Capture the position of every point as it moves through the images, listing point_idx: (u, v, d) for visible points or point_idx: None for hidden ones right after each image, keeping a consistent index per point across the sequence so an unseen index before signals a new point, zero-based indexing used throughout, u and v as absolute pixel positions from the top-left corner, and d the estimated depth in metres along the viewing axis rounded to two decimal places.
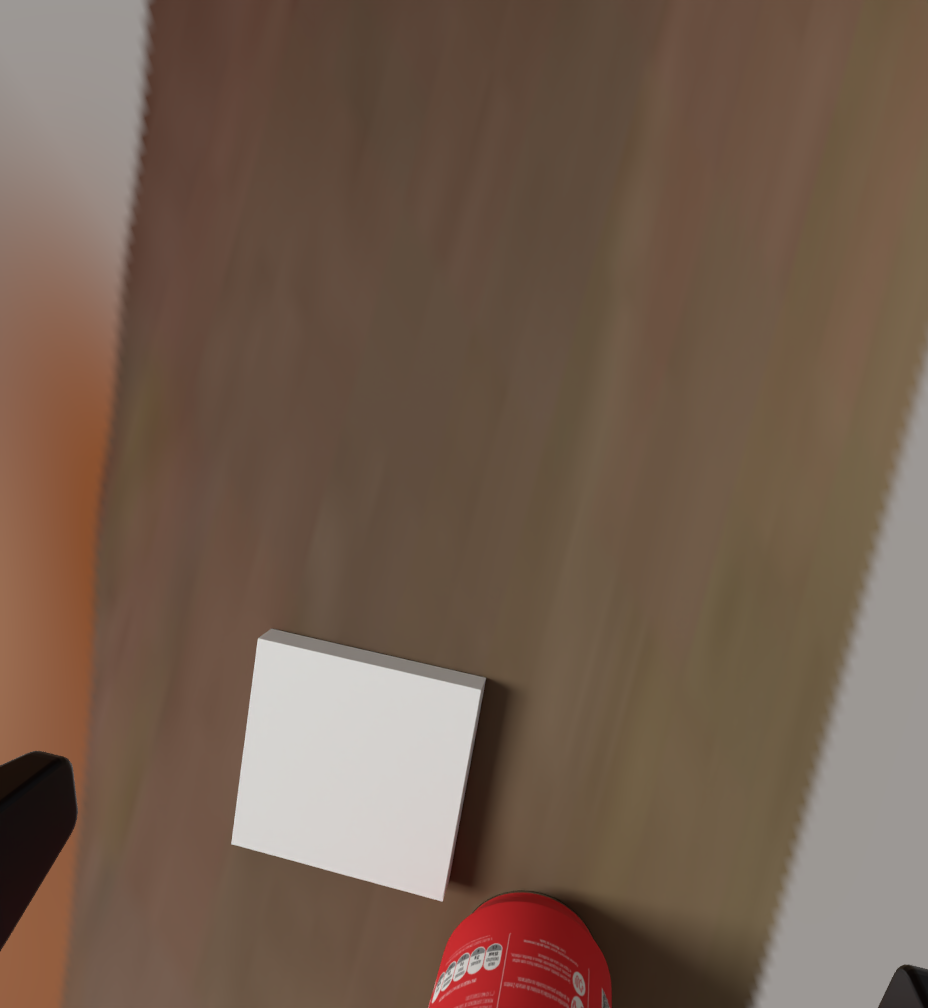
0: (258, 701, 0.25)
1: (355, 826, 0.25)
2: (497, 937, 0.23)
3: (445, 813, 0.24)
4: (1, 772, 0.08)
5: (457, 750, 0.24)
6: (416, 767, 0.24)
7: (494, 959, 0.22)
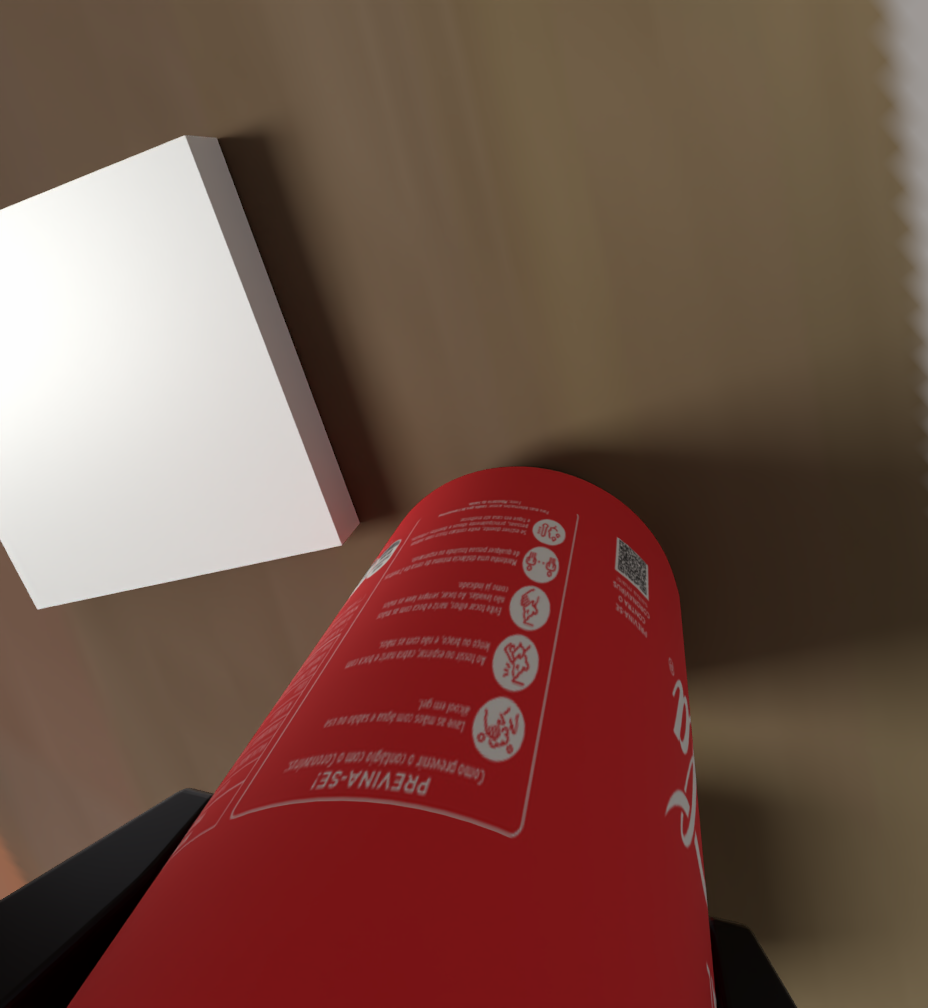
0: None
1: (161, 493, 0.15)
2: (400, 535, 0.12)
3: (263, 397, 0.13)
4: (160, 812, 0.08)
5: (215, 274, 0.13)
6: (179, 344, 0.13)
7: (384, 560, 0.11)
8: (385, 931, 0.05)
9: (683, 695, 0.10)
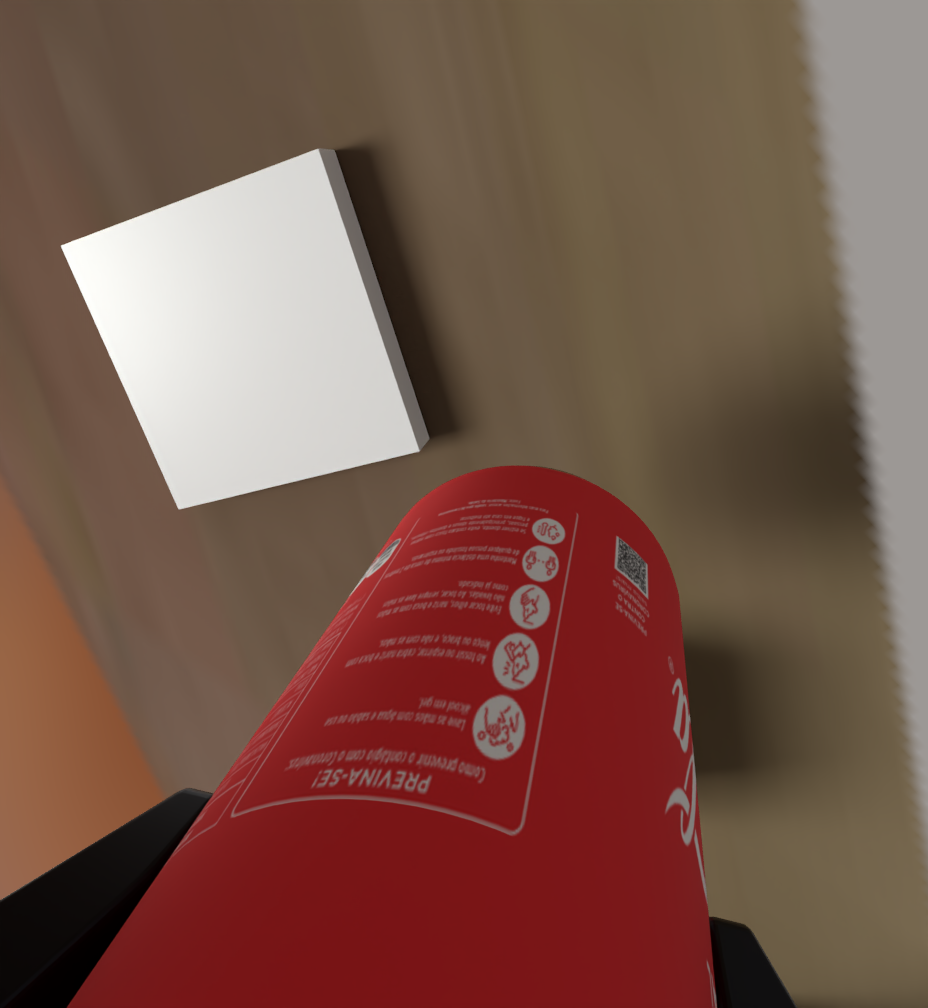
0: (106, 324, 0.20)
1: (283, 414, 0.20)
2: (399, 534, 0.12)
3: (365, 339, 0.18)
4: (160, 812, 0.08)
5: (334, 248, 0.18)
6: (304, 300, 0.18)
7: (384, 558, 0.11)
8: (387, 931, 0.05)
9: (683, 693, 0.10)
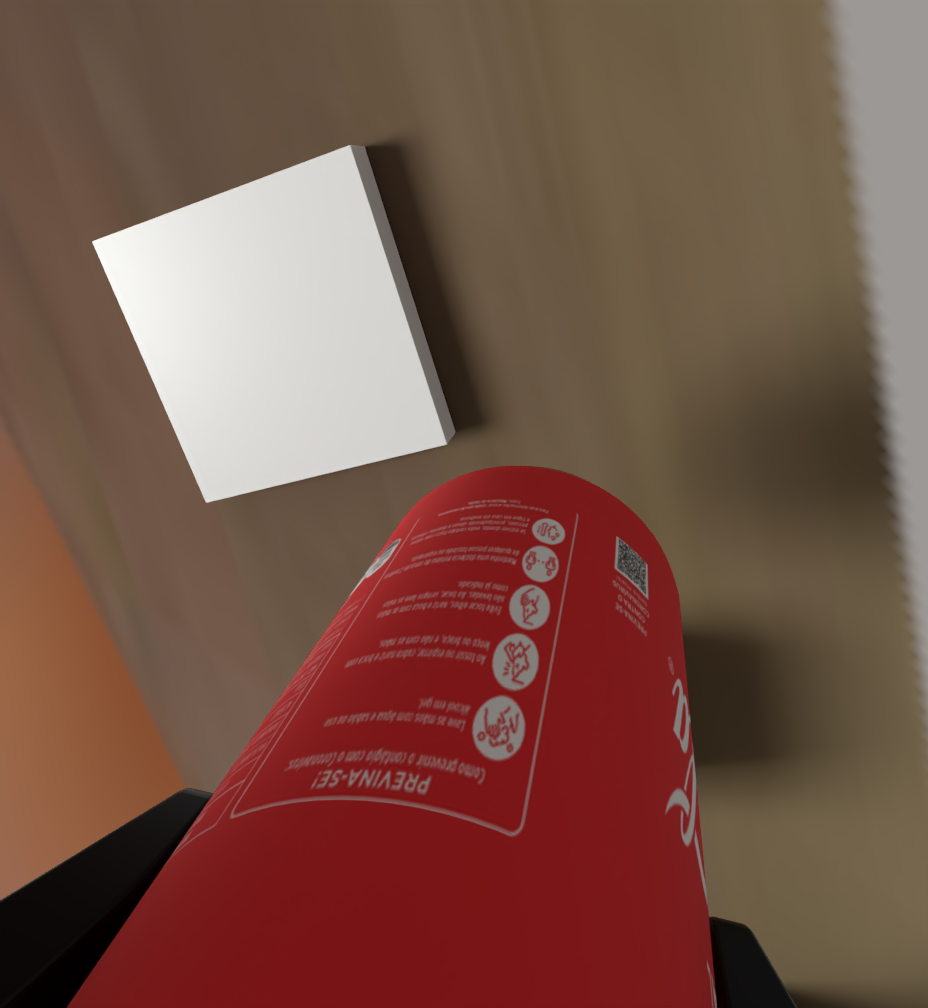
0: (136, 319, 0.20)
1: (311, 408, 0.20)
2: (399, 534, 0.12)
3: (394, 333, 0.19)
4: (160, 812, 0.08)
5: (365, 243, 0.18)
6: (334, 295, 0.19)
7: (383, 559, 0.11)
8: (385, 931, 0.05)
9: (683, 694, 0.10)
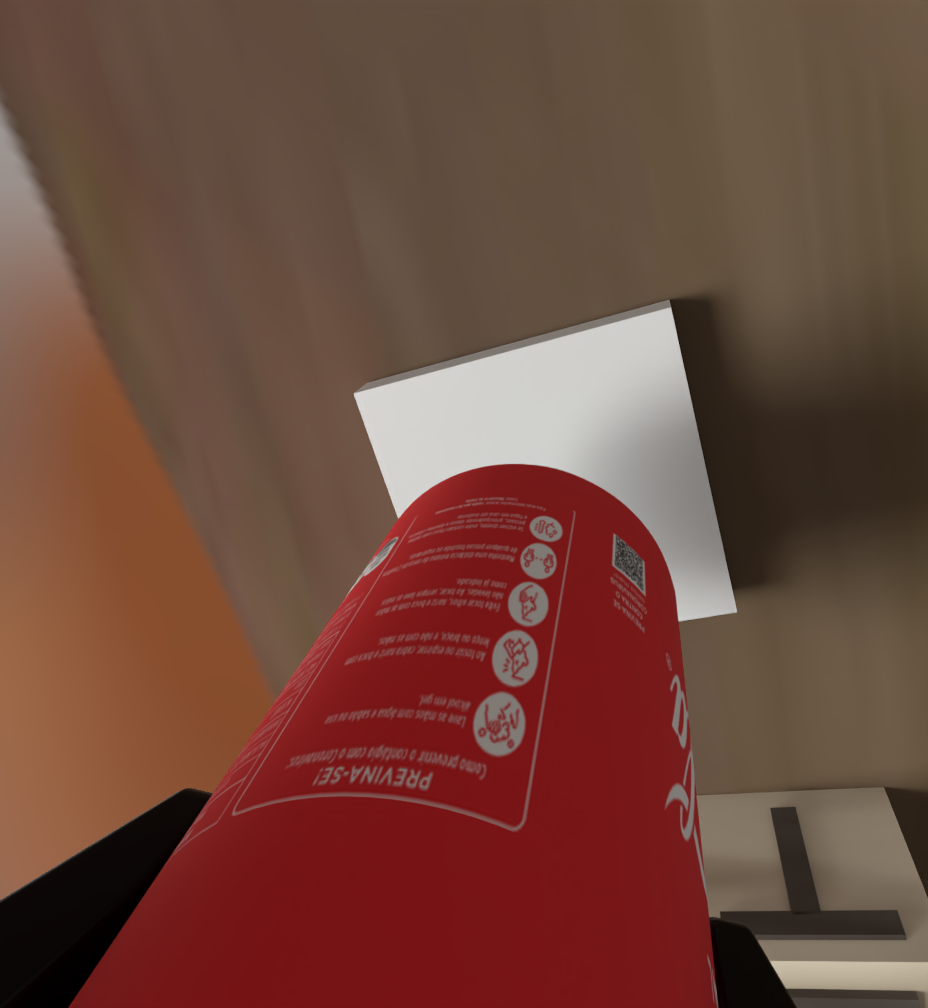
0: (393, 473, 0.18)
1: None
2: (396, 532, 0.12)
3: (693, 499, 0.17)
4: (160, 812, 0.08)
5: (673, 407, 0.16)
6: (628, 458, 0.17)
7: (381, 557, 0.11)
8: (388, 927, 0.05)
9: (680, 690, 0.10)
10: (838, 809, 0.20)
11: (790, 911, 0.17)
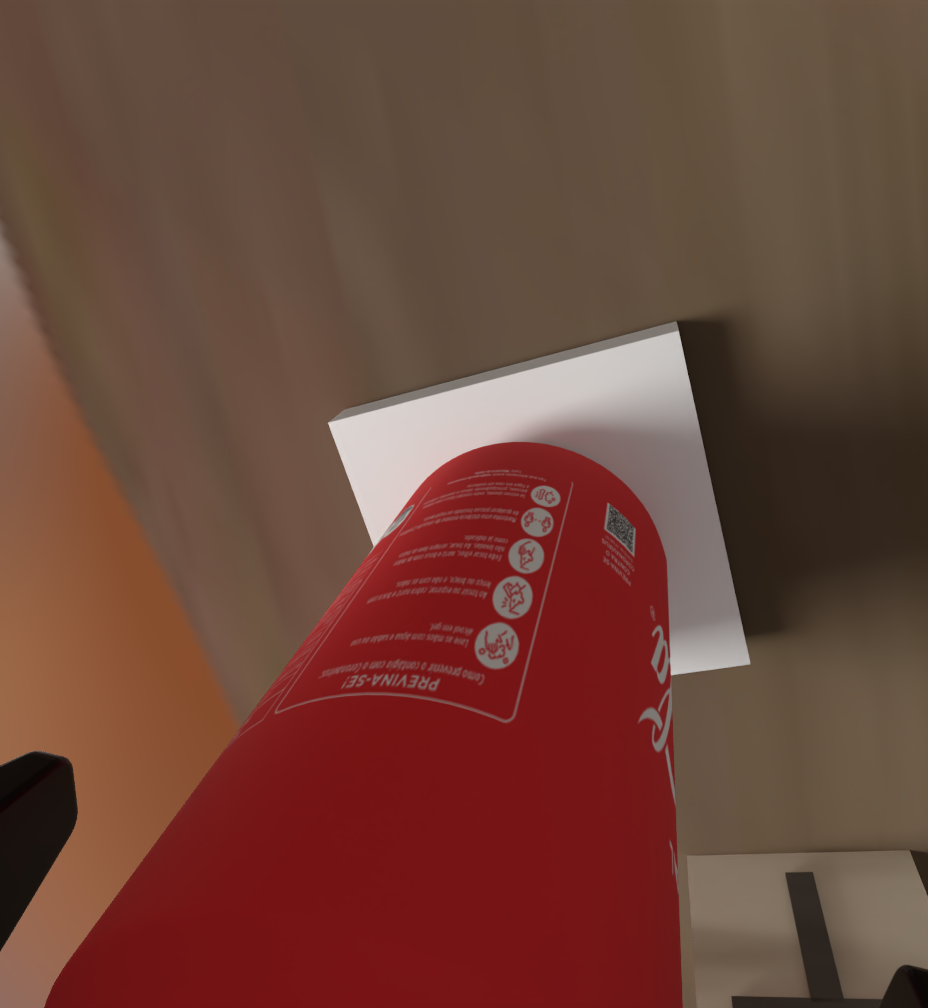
0: (373, 509, 0.17)
1: None
2: (413, 501, 0.13)
3: (702, 541, 0.15)
4: (1, 772, 0.08)
5: (680, 441, 0.15)
6: None
7: (399, 521, 0.13)
8: (403, 780, 0.06)
9: (663, 639, 0.11)
10: (861, 876, 0.18)
11: (809, 998, 0.16)
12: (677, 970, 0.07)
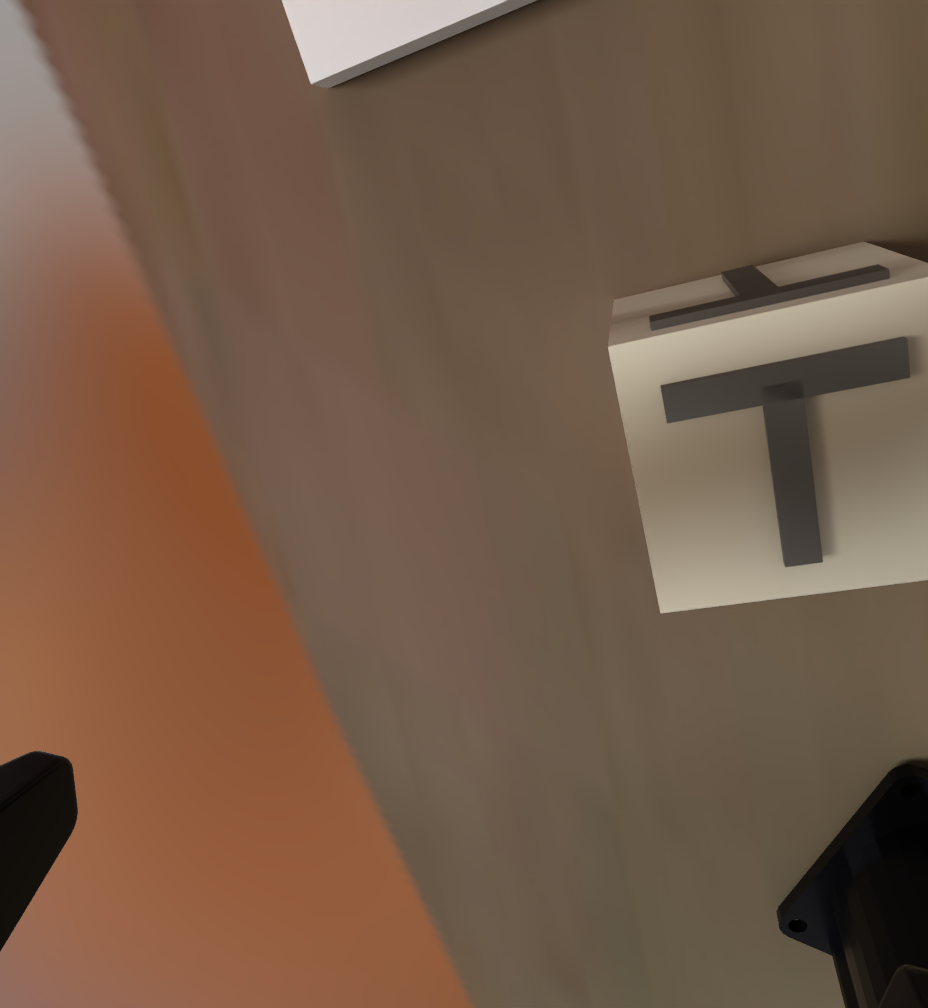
0: None
1: None
2: None
3: None
4: (1, 772, 0.08)
5: None
6: None
7: None
8: None
9: None
10: (806, 259, 0.16)
11: (738, 298, 0.13)
12: None
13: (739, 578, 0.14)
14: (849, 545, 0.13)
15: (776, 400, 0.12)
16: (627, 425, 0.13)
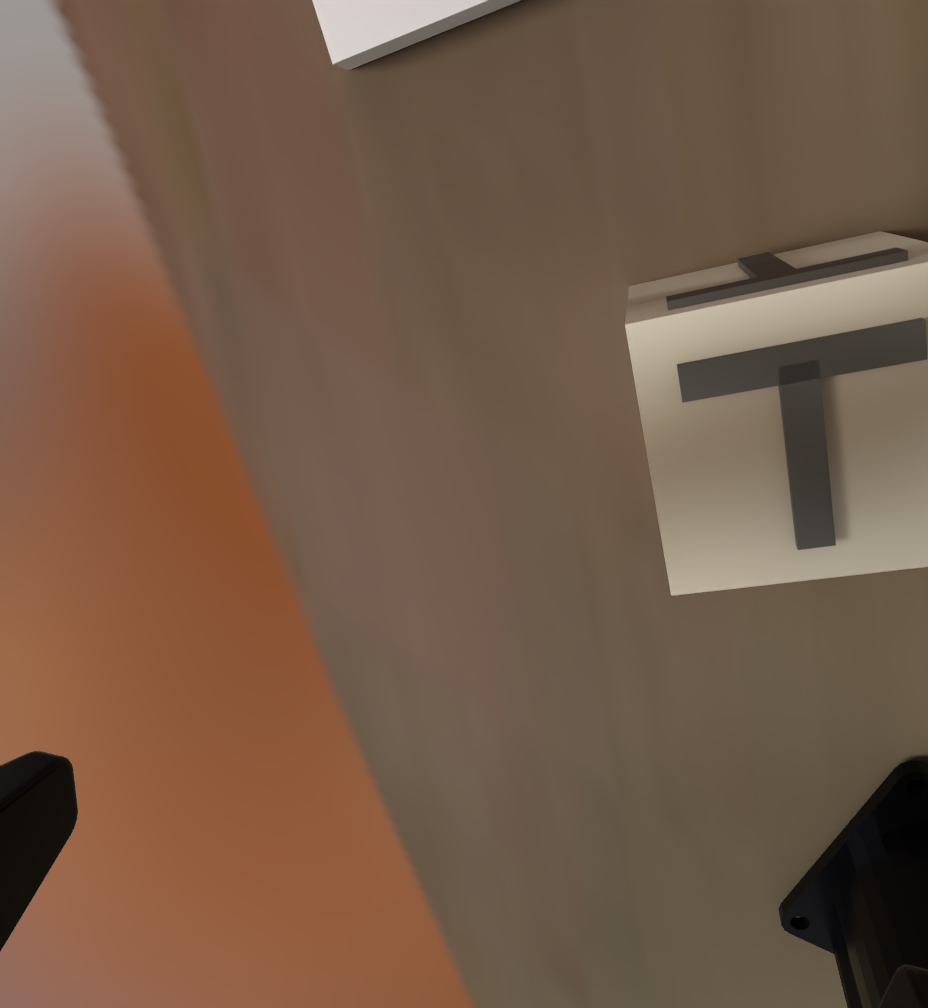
0: None
1: None
2: None
3: None
4: (1, 772, 0.08)
5: None
6: None
7: None
8: None
9: None
10: (823, 247, 0.16)
11: (756, 279, 0.13)
12: None
13: (751, 560, 0.14)
14: (862, 529, 0.13)
15: (792, 380, 0.13)
16: (642, 404, 0.13)
